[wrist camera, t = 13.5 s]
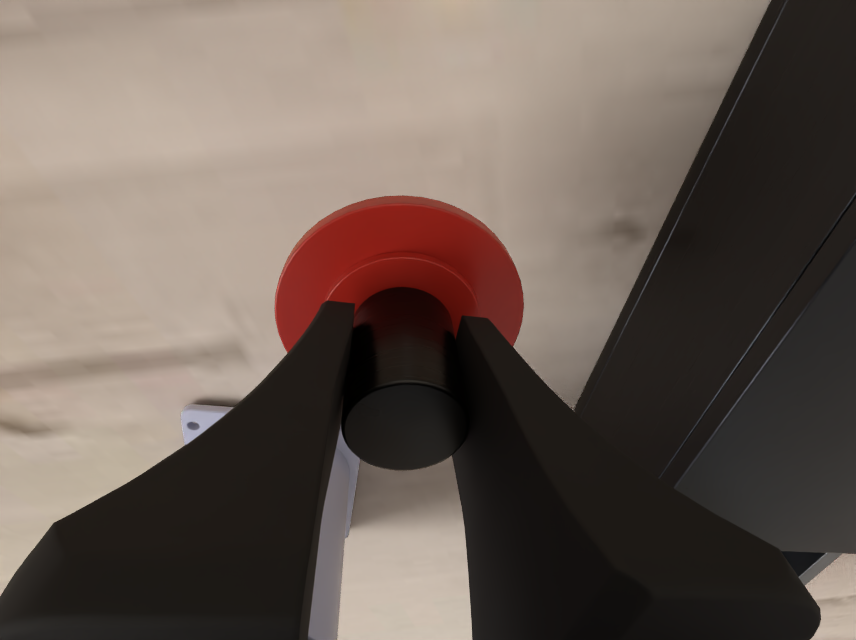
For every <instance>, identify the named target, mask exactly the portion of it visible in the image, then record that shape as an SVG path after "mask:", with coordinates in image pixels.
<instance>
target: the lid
mask: <svg viewBox="0 0 856 640" xmlns="http://www.w3.org/2000/svg"><path fill="white" fill-rule="evenodd" d="M327 300H329V301H338V302H347V303H355V312H354V323H353V332H352V340H351V349H350V358H349V364H348V369H347V374H346V380H345V388H344V398H343V408H342V417H341V432H342V436H343V438H344V441H345V443H346V444H347V446H348V448H349V449H350V450H351V451H352V452H353V453H354V454H355V455H356V456H357V457H358V458H360V459H361V460H363V461H365V462H367V463H369V464H371V465H373V466H376V467H380V468H384V469H389V470H400V471H406V470H416V469H422V468H426V467H429V466H432V465H435V464H437V463H440V462H442V461H444V460H445V459H447V458H449V457H450V456H451V455H453V454H454V453H455V452H456V451H457V450H458V449H459V448H460V447H461V446H462V445H463V443H464V441H465V440H466V437H467V435H468V433H469V429H470V414H469V408H468V403H467V398H466V393H465V387H464V382H463V377H462V372H461V367H460V361H459V356H458V351H457V346H456V340H455V339H456V336H457V332H458V328H459V324H460V320H461V316H462V315H465V316H474V317H483V318H488V319H489V320H490V321H491V322H492V323H493V324H494V325H495V327H496V328H497V329H498V330H499V331H500V332H501V334H502V335H503V336H504V337H505V338H506V340H507V341H508V342H509V343H510V344H511V345H512V347H513V346H514V343H515V341H516V339H517V336H518V334H519V331H520V327H521V323H522V318H523V309H524V302H523V291H522V286H521V281H520V278H519V275H518V273H517V270H516V267H515V265H514V263H513V261H512V258H511V257H510V255H509V253H508V251H507V250H506V248H505V246H504V245H503V244H502V242H501V241H500V240H499V239H498V237H497V236H496V235H495V234H494V233H493V232H492V231H491V230H490V229H489V228H488V227H487V226H486V225H485V224H483V223H482V222H481V221H479V220H478V219H476V218H475V217H473V216H472V215H471V214H469V213H467V212H465V211H463V210H461V209H459V208H457V207H455V206H452V205H449V204H446V203H444V202H441V201H437V200H433V199H428V198H423V197H414V196H384V197H379V198H373V199H367V200H364V201H361V202H357V203H354V204H351V205H348V206H346V207H344V208H342V209H340V210H337V211H335V212H333V213H332V214H330V215H329V216H327V217H325V218H324V219H322V220H321V221H319V222H318V223H317V224H316V225H315V226H313V227H312V228H311V229H310V230H309V231H307V232H306V234H305V235H304V236H303V237H302V238H301V239H300V240H299V242H298V243H297V244H296V245H295V247H294V249H293V250H292V252H291V253H290V255H289V256H288V259H287V261H286V263H285V265H284V268H283V270H282V273H281V276H280V278H279V282H278V286H277V290H276V296H275V319H276V324H277V328H278V332H279V335H280V338H281V340H282V343H283V345H284V347H285V349H286V351H287V353H288V352H289V351H290V350H291V349H292V347H293V346H294V345H295V343H296V342H297V341H298V340H299V338H300V337H301V336H302V335H303V333H304V332H305V330H306V329H307V328H308V326H309V325H310V323H311V322H312V320H313V319H314V317H315V316H316V314H317V312H318V310H319V308H320V306H321V304H322V303H324V302H325V301H327Z"/></svg>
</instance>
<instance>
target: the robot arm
mask: <svg viewBox="0 0 856 640" xmlns="http://www.w3.org/2000/svg"><path fill="white" fill-rule="evenodd" d="M354 312H355V303H347V302H338V301H329V300H327V301H325V302H324V303H322V304H321V306H320V308H319V310H318V312H317V314H316V316H315V317H314V319H313V320H312V322H311V323H310V325H309V326H308V328H307V329H306V330H305V332H304V333H303V335H302V336H301V337H300V338H299V340H298V341H297V342H296V343H295V345H294V346H293V347H292V349H291V350H290V351H289V352H288V354H287V355H286V356H285V357H284V358H283V359H282V360H281V361H280V363H279V364H278V365H277V366H276V367H275V368H274V369H273V370H272V371H271V372H270V373H269V374H268V376H267V377H266V378H265V379H264V380H263V381H262V382H261V383H260V384H259V385H258V386H257V387H256V388H255V389H254V390H253V391H252V392H250V393H249V394H248V395H247V396H246V397H245V398H244V399H243V400H242V401H241V402H239V403H238V404H237V405H236V406H235V407H225V406H212V405H198V404H189V405H187V406H185V407H184V408H183V410H182V412H181V423H182V430H183V437H184V443H185V446H184V447H182V448H181V449H179V450H178V451H176V452H174V453H173V454H171V455H170V456H168V457H167V458H165V459H164V460H162V461H161V462H159V463H158V464H156V465H155V466H153V467H152V468H150V469H149V470H147V471H146V472H144V473H143V474H141V475H140V476H138V477H136V478H135V479H133V480H131V481H130V482H128V483H126V484H125V485H123V486H121V487H119V488H118V489H116V490H114V491H112V492H110V493H108V494H107V495H105V496H103V497H101V498H99V499H98V500H96V501H94V502H92V503H90V504H89V505H87V506H85V507H83V508H81V509H79V510H78V511H76V512H74V513H72V514H70V515H68V516H66V517H64V518H62V519H60V520H59V521H57V522H55V523H53V525H52V526H51V527H50V529H49V530H48V531H47V532H46V534H45V535H44V536H43V538H42V539H41V540H40V542H39V543H38V544H37V545H36V547H35V548H34V549H33V550H32V552H31V553H30V554H29V555H28V557H27V558H26V559H25V561H24V562H23V563H22V565H21V566H20V567H19V569H18V570H17V571H16V573H15V574H14V576H13V577H12V579H11V580H10V582H9V583H8V585H7V587H6V588H5V590H4V591H3V593H2V595H1V596H0V640H337V636H338V622H339V609H340V596H341V583H342V569H343V556H344V543H345V538H347V537H348V535H349V530H350V523H351V517H352V510H353V504H354V497H355V490H356V484H357V477H358V471H359V464H360V458H358V457H357V456H356V455H355V454H354V453H353V452H352V451H351V450H350V449H349V448H348V446H347V444H346V443H345V441H344V438H343V436H342V432H341V417H342V408H343V398H344V388H345V380H346V374H347V369H348V364H349V358H350V349H351V340H352V332H353V323H354ZM455 340H456V346H457V351H458V356H459V361H460V367H461V372H462V377H463V382H464V387H465V393H466V398H467V403H468V408H469V414H470V429H469V433H468V435H467V437H466V440H465V441H464V443H463V445H462V446H461V447H460V448H459V449H458V450H457V451H456V452H455V453H454V454H453V455H452V457H453V463H454V468H455V473H456V479H457V484H458V489H459V495H460V500H461V505H462V512H463V519H464V526H465V536H466V548H467V560H468V572H469V588H470V603H471V618H472V639H473V640H810V639H811V638H812V637H813V636H814V634H815V632H816V630H817V629H818V627H819V624H820V620H821V614H820V608H819V606H818V605H817V603H816V602H815V600H814V599H813V598H812V596H811V595H810V593H809V592H808V590H807V589H806V587H805V586H804V584H803V583H802V581H801V580H800V579H799V577H798V576H797V574H796V573H795V571H794V570H793V568H792V567H791V565H790V564H789V562H788V561H787V560H786V558H785V557H784V555H783V554H782V552H781V551H780V550H779V548H777V547H775V546H773V545H771V544H769V543H768V542H766V541H764V540H762V539H760V538H759V537H757V536H755V535H753V534H751V533H749V532H748V531H746V530H744V529H742V528H740V527H738V526H737V525H735V524H733V523H731V522H729V521H728V520H726V519H724V518H722V517H720V516H718V515H717V514H715V513H713V512H711V511H710V510H708V509H706V508H705V507H703V506H702V505H700V504H698V503H697V502H695V501H693V500H692V499H690V498H689V497H687V496H685V495H684V494H682V493H681V492H679V491H677V490H676V489H674V488H673V487H671V486H670V485H668V484H667V483H665V482H664V481H662V480H661V479H659V478H658V477H656V476H655V475H653V474H652V473H650V472H649V471H648V470H646V469H645V468H643V467H642V466H641V465H639V464H638V463H637V462H635V461H634V460H632V459H631V458H630V457H628V456H627V455H626V454H624V453H623V452H621V451H620V450H619V449H618V448H616V447H615V446H614V445H612V444H611V443H610V442H609V441H607V440H606V439H605V438H604V437H603V436H601V435H600V434H599V433H598V432H597V431H595V430H594V429H593V428H592V427H591V426H590V425H588V424H587V423H586V422H585V421H584V420H582V419H581V418H580V417H579V416H578V415H577V414H576V413H575V412H574V411H573V410H571V409H570V408H569V407H568V406H567V405H566V404H565V403H564V402H563V401H562V400H561V399H560V398H559V397H558V396H557V395H556V394H555V393H554V392H553V391H552V390H551V389H550V388H549V387H548V386H547V385H546V384H545V383H544V382H543V380H542V379H541V378H540V377H539V376H538V375H537V374H536V373H535V372H534V371H533V370H532V369H531V367H530V366H529V365H528V364H527V363H526V362H525V361H524V360H523V358H522V357H521V356H520V355H519V354H518V353H517V351H516V350H515V349H514V348H513V347H512V345H511V344H510V343H509V342H508V341H507V340H506V338H505V337H504V336H503V335H502V334H501V332H500V331H499V330H498V329H497V328H496V327H495V325H494V324H493V323H492V322H491V321H490V320H489V319H488V318H483V317H474V316H465V315H462V316H461V320H460V324H459V328H458V332H457V336H456V339H455ZM193 422H196V423H197V424H196V423H193Z"/></svg>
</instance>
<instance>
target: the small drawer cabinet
mask: <svg viewBox="0 0 856 640" xmlns="http://www.w3.org/2000/svg"><path fill="white" fill-rule="evenodd" d="M574 411H575V413H576V414H577V415H578V416H579V417H580V418H581V419H582V420H584V421H585V422H586V423H587V424H588V425H590V426H591V427H592V428H593V429H594V430H595V431H597V432H598V433H599V434H600V435H601V436H603V437H604V438H605V439H606V440H607V441H609V442H610V443H611V444H612V445H614V446H615V447H616V448H618V449H619V450H620V451H621V452H623V453H624V454H626V455H627V456H628V457H630V458H631V459H632V460H634V461H635V462H637V463H638V464H639V465H641V466H642V467H643V468H645V469H646V470H648V471H649V472H650V473H652V474H653V475H655V476H656V477H658V478H659V479H661V480H662V481H664V482H665V483H667V484H668V485H670V486H671V487H673V488H674V489H676V490H677V491H679V492H681V493H682V494H684V495H685V496H687V497H689V498H690V499H692V500H693V501H695V502H697V503H698V504H700V505H702V506H703V507H705V508H706V509H708V510H710V511H711V512H713V513H715V514H717V515H718V516H720V517H722V518H724V519H726V520H728V521H729V522H731V523H733V524H735V525H737V526H738V527H740V528H742V529H744V530H746V531H748V532H749V533H751V534H753V535H755V536H757V537H759V538H760V539H762V540H764V541H766V542H768V543H769V544H771V545H773V546H775V547H777V548H779V550H780V551H796V552H822V553H849V554H856V0H771V2H770V4H769V6H768V8H767V11H766V13H765V15H764V17H763V19H762V21H761V23H760V25H759V27H758V29H757V31H756V33H755V35H754V38H753V40H752V42H751V44H750V46H749V48H748V50H747V52H746V54H745V56H744V58H743V60H742V62H741V65H740V67H739V69H738V71H737V73H736V75H735V77H734V79H733V81H732V83H731V85H730V87H729V89H728V92H727V94H726V96H725V98H724V100H723V102H722V104H721V106H720V108H719V110H718V112H717V114H716V116H715V119H714V121H713V123H712V125H711V127H710V129H709V131H708V133H707V135H706V137H705V139H704V141H703V143H702V146H701V148H700V150H699V152H698V154H697V156H696V158H695V160H694V162H693V164H692V166H691V168H690V170H689V173H688V175H687V177H686V179H685V181H684V183H683V185H682V187H681V189H680V191H679V193H678V195H677V197H676V200H675V202H674V204H673V206H672V208H671V210H670V212H669V214H668V216H667V218H666V220H665V222H664V224H663V227H662V229H661V231H660V233H659V235H658V237H657V239H656V241H655V243H654V245H653V247H652V249H651V251H650V253H649V256H648V258H647V260H646V262H645V264H644V266H643V268H642V270H641V272H640V274H639V276H638V278H637V280H636V283H635V285H634V287H633V289H632V291H631V293H630V295H629V297H628V299H627V301H626V303H625V305H624V307H623V310H622V312H621V314H620V316H619V318H618V320H617V322H616V324H615V326H614V328H613V330H612V332H611V334H610V337H609V339H608V341H607V343H606V345H605V347H604V349H603V351H602V353H601V355H600V357H599V359H598V361H597V364H596V366H595V368H594V370H593V372H592V374H591V376H590V378H589V380H588V382H587V384H586V386H585V388H584V391H583V393H582V395H581V397H580V399H579V401H578V403H577V405H576V407H575V410H574Z"/></svg>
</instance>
